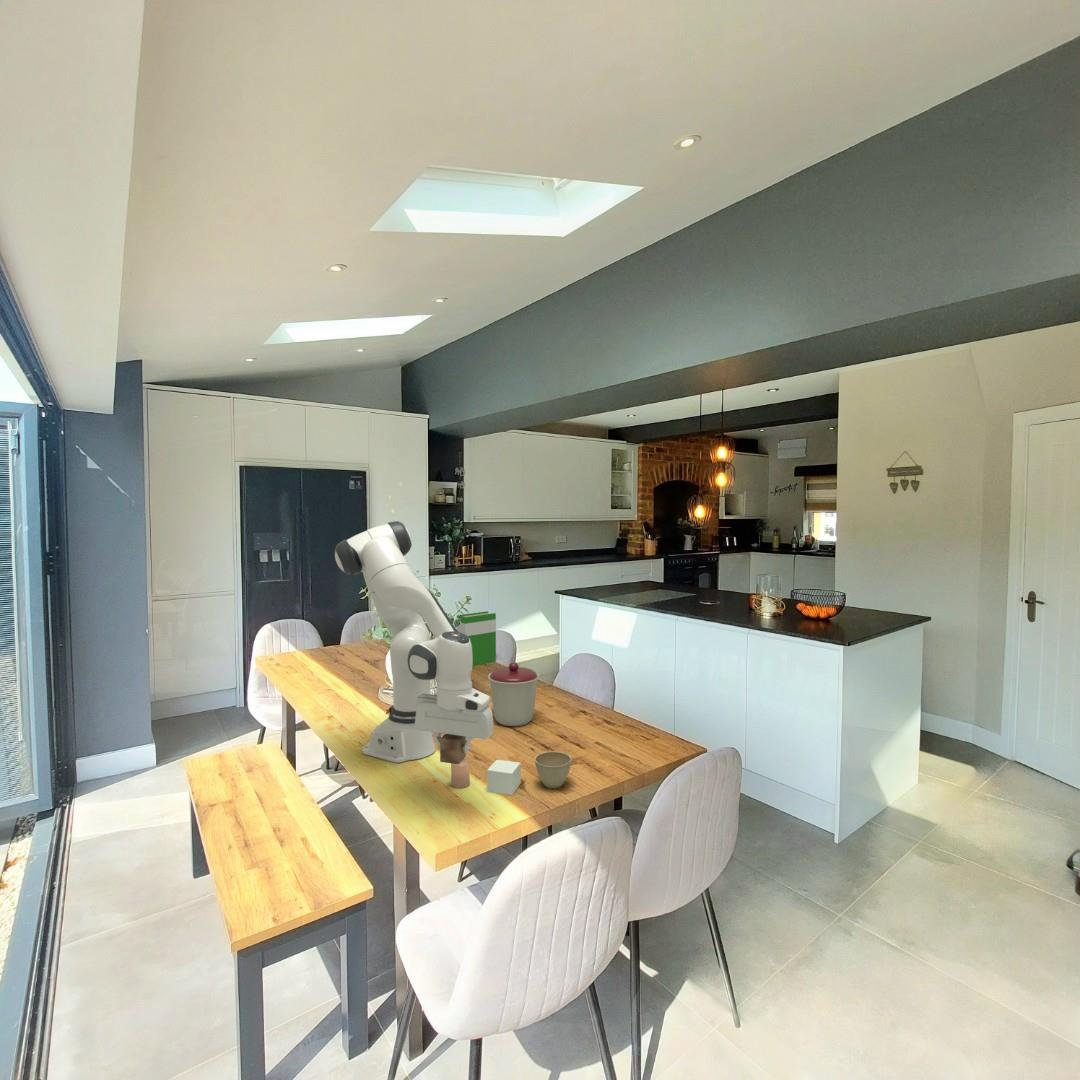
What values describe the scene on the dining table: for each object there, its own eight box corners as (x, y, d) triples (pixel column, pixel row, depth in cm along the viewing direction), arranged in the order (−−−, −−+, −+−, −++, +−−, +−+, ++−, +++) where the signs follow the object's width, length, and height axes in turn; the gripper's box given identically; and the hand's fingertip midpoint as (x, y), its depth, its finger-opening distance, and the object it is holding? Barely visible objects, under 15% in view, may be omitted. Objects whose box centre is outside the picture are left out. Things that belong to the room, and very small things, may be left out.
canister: (496, 711, 223) (495, 655, 222) (543, 714, 219) (543, 657, 218) (481, 728, 205) (481, 667, 204) (533, 732, 201) (533, 670, 200)
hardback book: (487, 658, 300) (487, 611, 299) (495, 661, 295) (495, 613, 293) (457, 664, 289) (456, 615, 288) (465, 667, 283) (465, 617, 282)
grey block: (487, 792, 160) (487, 770, 159) (496, 780, 166) (496, 759, 166) (511, 795, 158) (511, 773, 157) (520, 784, 164) (520, 762, 164)
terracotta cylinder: (448, 787, 162) (447, 765, 162) (456, 779, 167) (456, 758, 166) (464, 790, 161) (464, 768, 160) (472, 781, 165) (472, 760, 165)
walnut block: (440, 761, 150) (440, 738, 150) (448, 753, 155) (448, 731, 155) (458, 764, 149) (459, 740, 149) (466, 756, 154) (466, 733, 154)
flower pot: (540, 774, 170) (540, 749, 170) (575, 778, 167) (575, 753, 167) (530, 789, 161) (530, 763, 160) (566, 795, 158) (566, 768, 157)
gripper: (410, 696, 151) (410, 750, 152) (487, 705, 146) (486, 760, 146) (422, 689, 157) (421, 740, 158) (496, 697, 152) (494, 750, 153)
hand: (453, 750), depth 152 cm, fingers closed on walnut block, 5 cm apart
